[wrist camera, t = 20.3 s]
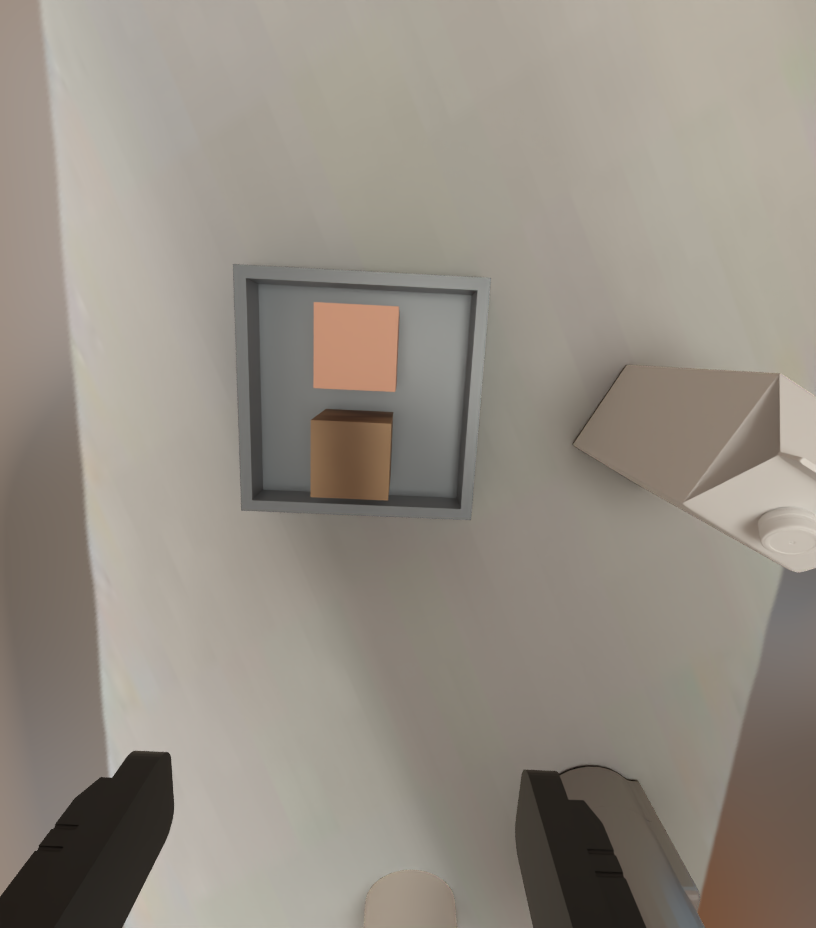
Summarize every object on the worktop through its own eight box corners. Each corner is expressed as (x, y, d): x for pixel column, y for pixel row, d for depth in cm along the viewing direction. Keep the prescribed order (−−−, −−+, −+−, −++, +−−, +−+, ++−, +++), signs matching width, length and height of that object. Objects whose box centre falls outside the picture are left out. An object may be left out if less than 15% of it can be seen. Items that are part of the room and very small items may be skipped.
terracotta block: (399, 314, 34) (398, 306, 28) (396, 385, 35) (395, 392, 29) (329, 310, 34) (313, 301, 28) (328, 382, 35) (313, 388, 29)
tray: (482, 285, 34) (491, 277, 31) (464, 505, 38) (470, 520, 34) (250, 272, 34) (232, 264, 30) (256, 496, 38) (241, 510, 34)
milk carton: (625, 363, 36) (867, 376, 17) (699, 411, 36) (1007, 473, 18) (571, 444, 37) (740, 536, 18) (644, 488, 38) (875, 619, 19)
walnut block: (393, 411, 35) (391, 423, 29) (390, 476, 36) (388, 500, 31) (325, 408, 35) (310, 419, 29) (325, 473, 36) (310, 497, 31)
